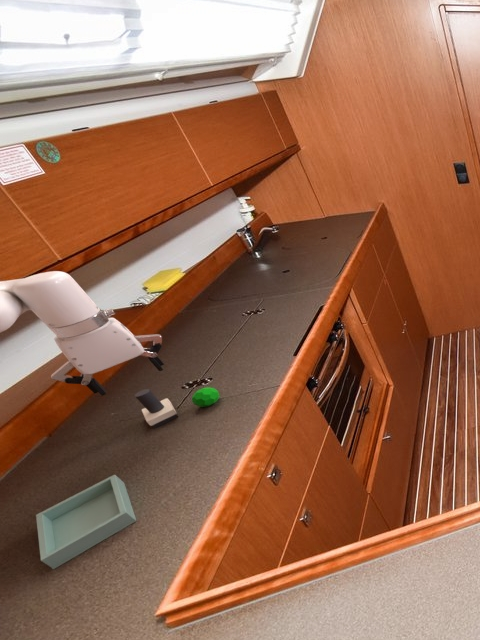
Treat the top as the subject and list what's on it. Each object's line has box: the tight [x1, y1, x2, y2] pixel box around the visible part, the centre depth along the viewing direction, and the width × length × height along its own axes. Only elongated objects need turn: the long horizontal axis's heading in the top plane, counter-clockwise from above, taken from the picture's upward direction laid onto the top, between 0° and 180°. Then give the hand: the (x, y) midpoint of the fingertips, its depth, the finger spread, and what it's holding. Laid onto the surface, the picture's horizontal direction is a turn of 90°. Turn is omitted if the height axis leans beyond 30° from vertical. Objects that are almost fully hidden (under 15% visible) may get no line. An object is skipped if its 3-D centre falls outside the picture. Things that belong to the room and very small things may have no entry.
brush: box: [134, 388, 179, 429], centre depth 103 cm, size 7×5×9 cm
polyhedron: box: [191, 386, 220, 408], centre depth 108 cm, size 5×5×5 cm
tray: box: [35, 474, 137, 570], centre depth 81 cm, size 15×11×3 cm
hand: (133, 380), depth 99 cm, fingers open, 9 cm apart
